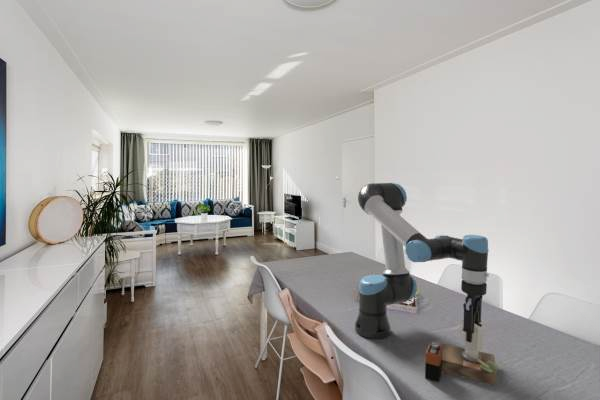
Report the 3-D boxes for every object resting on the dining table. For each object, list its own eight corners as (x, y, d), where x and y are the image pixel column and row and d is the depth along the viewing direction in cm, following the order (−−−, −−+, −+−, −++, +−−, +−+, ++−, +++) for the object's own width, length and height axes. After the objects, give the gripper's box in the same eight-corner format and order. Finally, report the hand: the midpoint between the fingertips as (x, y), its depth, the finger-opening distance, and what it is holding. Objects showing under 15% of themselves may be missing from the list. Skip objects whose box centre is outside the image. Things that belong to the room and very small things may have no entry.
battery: (441, 372, 108) (442, 344, 108) (439, 383, 103) (439, 353, 102) (428, 368, 111) (428, 340, 110) (424, 379, 105) (425, 349, 104)
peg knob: (480, 370, 102) (481, 334, 102) (457, 353, 113) (457, 320, 112) (495, 368, 104) (496, 332, 103) (471, 351, 114) (472, 318, 113)
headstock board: (428, 368, 110) (429, 357, 110) (432, 351, 122) (433, 340, 121) (501, 387, 100) (502, 374, 100) (498, 366, 112) (499, 355, 111)
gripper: (479, 290, 99) (476, 362, 101) (492, 277, 112) (490, 341, 114) (453, 284, 105) (451, 353, 106) (469, 273, 117) (467, 334, 119)
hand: (471, 347), depth 110 cm, fingers closed on peg knob, 4 cm apart
